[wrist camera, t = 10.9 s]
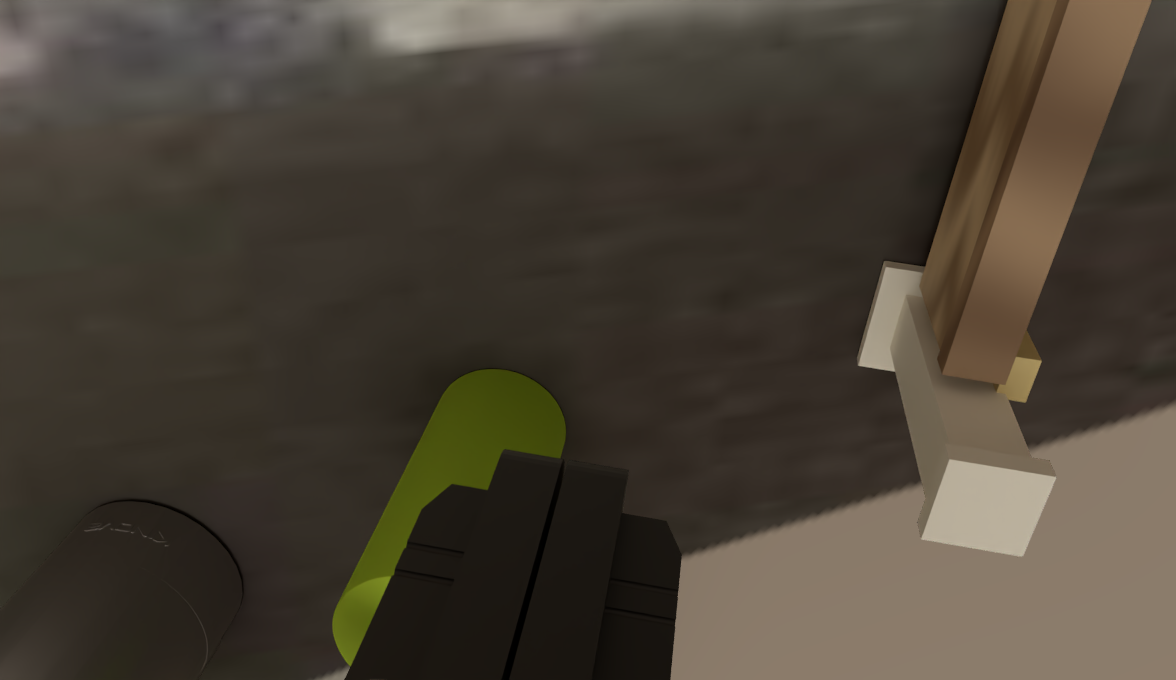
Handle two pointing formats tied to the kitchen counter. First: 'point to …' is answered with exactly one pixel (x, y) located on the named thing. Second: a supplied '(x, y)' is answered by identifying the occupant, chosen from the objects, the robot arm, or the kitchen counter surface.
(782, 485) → the kitchen counter surface
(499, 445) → the soap dispenser
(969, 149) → the gate
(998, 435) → the post
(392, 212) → the kitchen counter surface
